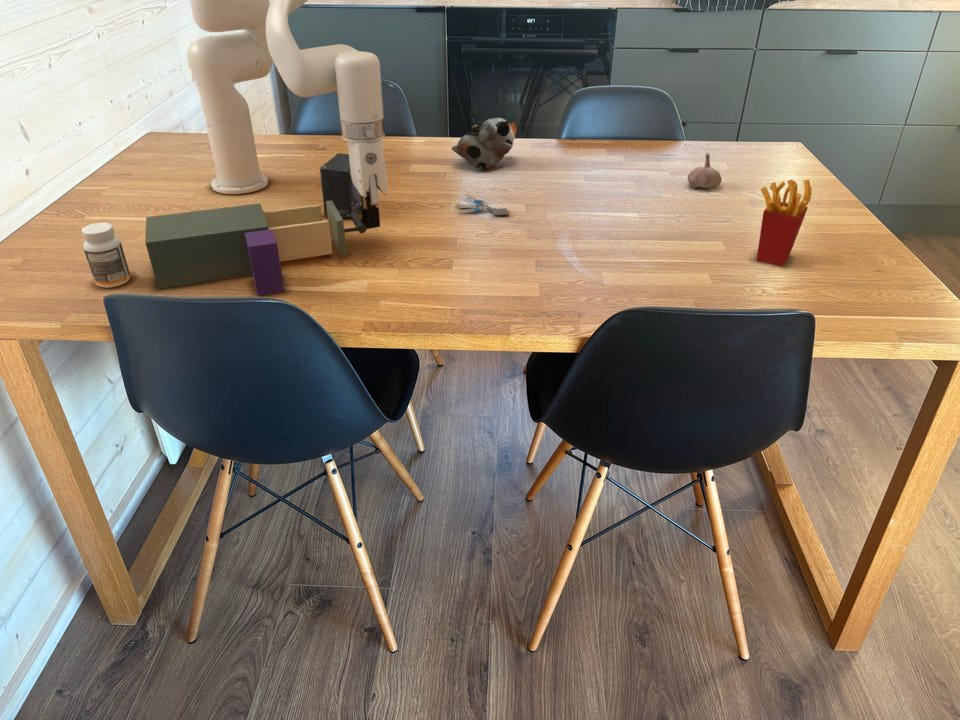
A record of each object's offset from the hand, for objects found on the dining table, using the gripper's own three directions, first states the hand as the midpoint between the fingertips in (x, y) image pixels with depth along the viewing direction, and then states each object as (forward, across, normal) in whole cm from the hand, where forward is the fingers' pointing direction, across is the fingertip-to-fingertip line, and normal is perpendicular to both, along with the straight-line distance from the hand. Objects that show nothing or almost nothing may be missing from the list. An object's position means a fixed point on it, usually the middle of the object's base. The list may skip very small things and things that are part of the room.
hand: (371, 226), depth 133 cm
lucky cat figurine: (+4, +38, -38) cm, 54 cm away
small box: (+4, +19, +1) cm, 19 cm away
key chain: (+4, +9, -25) cm, 27 cm away
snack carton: (+4, -11, +21) cm, 24 cm away
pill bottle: (+4, 0, +46) cm, 46 cm away
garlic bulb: (+4, +5, -80) cm, 80 cm away
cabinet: (+4, 0, +29) cm, 29 cm away
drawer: (+3, 0, +13) cm, 13 cm away
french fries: (+4, -31, -69) cm, 76 cm away
